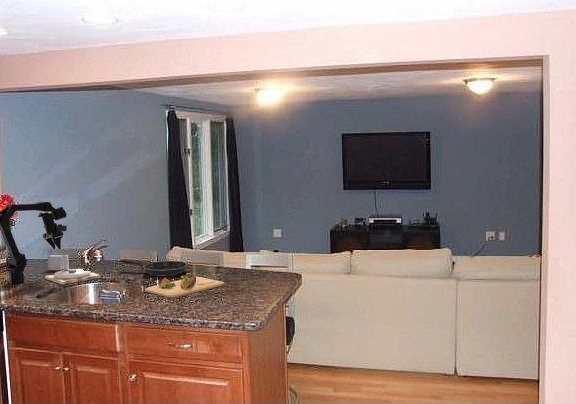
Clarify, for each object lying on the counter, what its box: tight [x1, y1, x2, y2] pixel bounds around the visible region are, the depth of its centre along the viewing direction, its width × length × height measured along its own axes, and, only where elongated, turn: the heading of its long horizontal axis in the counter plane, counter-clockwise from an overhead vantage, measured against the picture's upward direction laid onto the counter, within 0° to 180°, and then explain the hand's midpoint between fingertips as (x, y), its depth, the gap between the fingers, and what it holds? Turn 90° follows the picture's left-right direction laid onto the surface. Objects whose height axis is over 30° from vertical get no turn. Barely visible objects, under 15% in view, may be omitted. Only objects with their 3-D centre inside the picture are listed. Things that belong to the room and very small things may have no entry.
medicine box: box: [47, 254, 64, 271], centre depth 355 cm, size 8×4×9 cm, turn 84°
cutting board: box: [144, 272, 225, 298], centre depth 302 cm, size 35×23×8 cm
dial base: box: [44, 271, 101, 285], centre depth 331 cm, size 22×22×2 cm
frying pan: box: [119, 258, 189, 277], centre depth 342 cm, size 44×25×7 cm, turn 67°
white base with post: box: [54, 254, 92, 279], centre depth 330 cm, size 19×19×10 cm
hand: (57, 248), depth 336 cm, fingers open, 9 cm apart
